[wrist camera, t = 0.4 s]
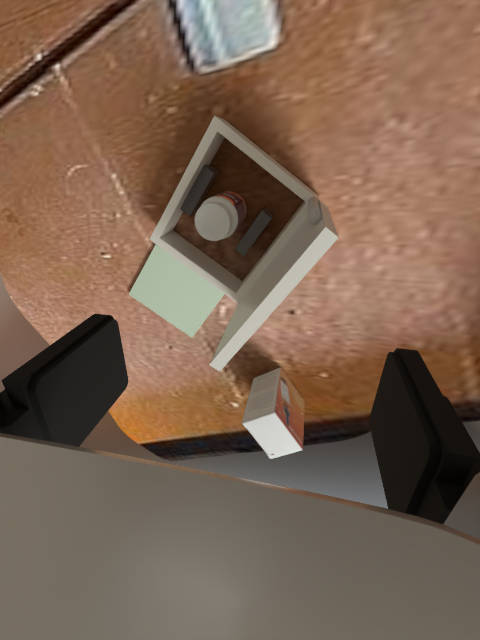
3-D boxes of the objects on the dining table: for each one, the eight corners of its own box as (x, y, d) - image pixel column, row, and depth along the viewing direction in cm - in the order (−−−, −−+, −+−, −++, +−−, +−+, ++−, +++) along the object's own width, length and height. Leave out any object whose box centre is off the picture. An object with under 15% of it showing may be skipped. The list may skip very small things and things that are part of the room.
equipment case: (163, 231, 44) (80, 277, 28) (224, 119, 36) (157, 93, 20) (250, 295, 46) (219, 371, 30) (326, 201, 38) (338, 237, 22)
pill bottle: (246, 189, 39) (231, 197, 32) (248, 228, 41) (235, 244, 34) (209, 191, 40) (188, 200, 33) (213, 229, 42) (194, 245, 35)
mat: (130, 292, 50) (128, 294, 49) (157, 243, 45) (155, 244, 44) (193, 335, 51) (191, 337, 51) (225, 292, 46) (224, 293, 46)
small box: (305, 400, 53) (304, 451, 44) (276, 410, 55) (270, 460, 46) (281, 365, 51) (275, 412, 42) (252, 377, 53) (240, 423, 44)
